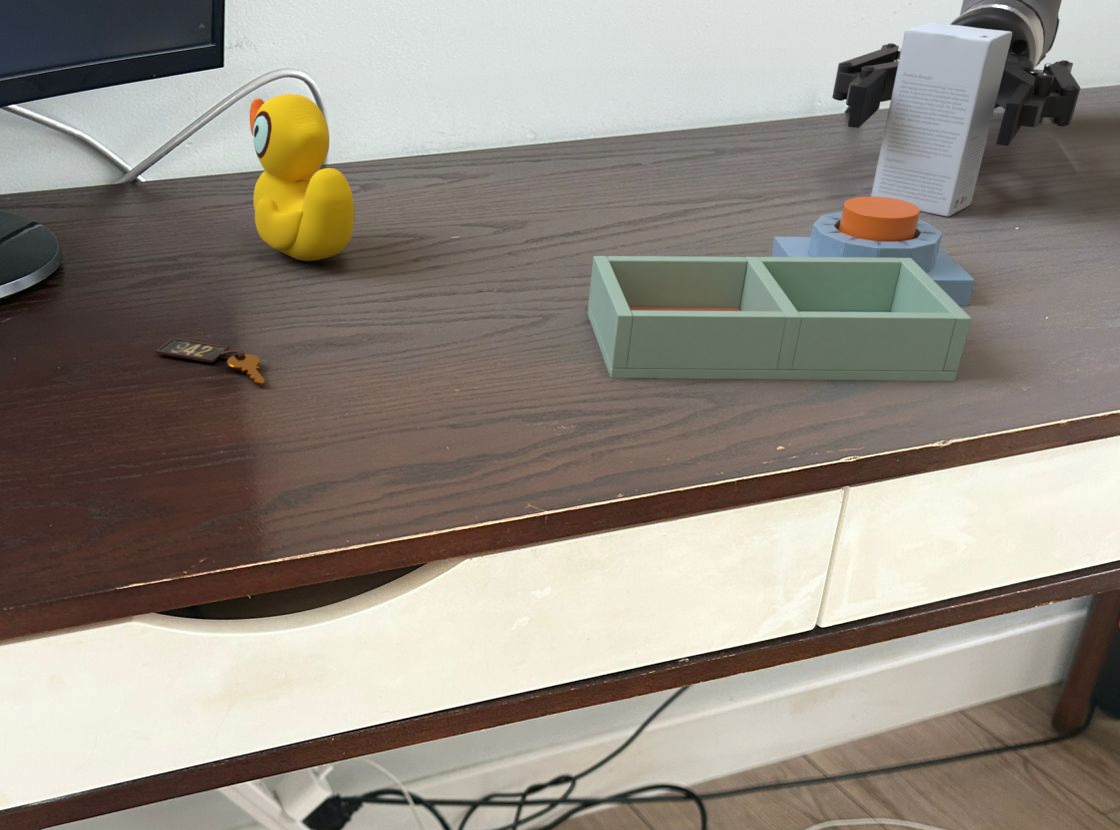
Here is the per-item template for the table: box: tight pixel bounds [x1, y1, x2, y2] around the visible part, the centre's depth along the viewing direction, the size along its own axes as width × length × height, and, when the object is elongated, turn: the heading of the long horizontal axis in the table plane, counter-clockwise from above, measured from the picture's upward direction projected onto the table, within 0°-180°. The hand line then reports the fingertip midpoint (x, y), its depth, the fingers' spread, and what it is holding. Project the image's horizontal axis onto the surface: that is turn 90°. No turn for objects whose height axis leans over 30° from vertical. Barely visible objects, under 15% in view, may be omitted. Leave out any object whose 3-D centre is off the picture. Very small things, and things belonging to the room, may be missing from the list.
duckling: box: [249, 93, 356, 262], centre depth 89 cm, size 11×5×10 cm, turn 29°
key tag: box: [155, 337, 266, 386], centre depth 76 cm, size 8×3×1 cm, turn 53°
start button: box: [839, 196, 921, 242], centre depth 84 cm, size 4×4×2 cm
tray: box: [587, 255, 972, 382], centre depth 77 cm, size 18×10×4 cm, turn 88°
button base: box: [770, 210, 976, 307], centre depth 85 cm, size 10×8×4 cm
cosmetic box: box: [870, 22, 1012, 218], centre depth 97 cm, size 6×4×12 cm
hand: (930, 115), depth 93 cm, fingers open, 9 cm apart
